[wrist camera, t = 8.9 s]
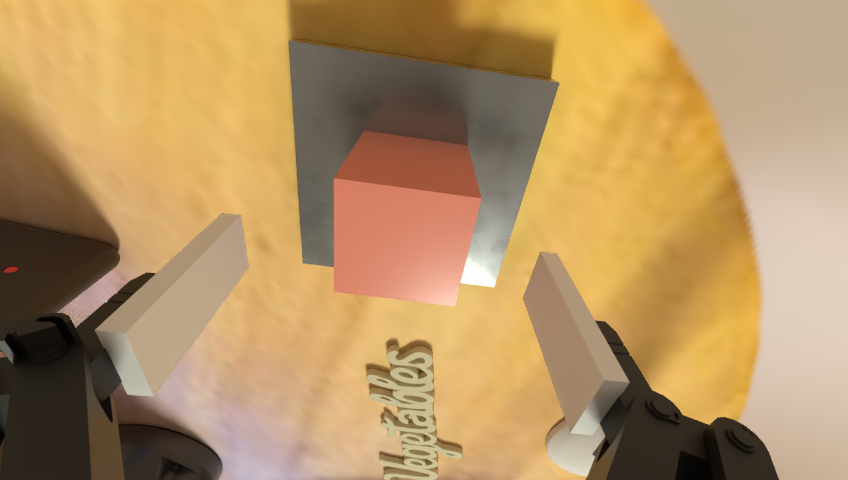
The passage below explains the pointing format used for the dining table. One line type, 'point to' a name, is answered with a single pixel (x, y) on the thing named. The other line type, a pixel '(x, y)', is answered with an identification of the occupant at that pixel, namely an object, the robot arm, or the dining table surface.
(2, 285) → the leaning round-cornered charcoal block
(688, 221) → the dining table surface
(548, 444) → the candlestick
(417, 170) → the salmon pink cube
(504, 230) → the gray slab
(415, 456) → the decorative sign
